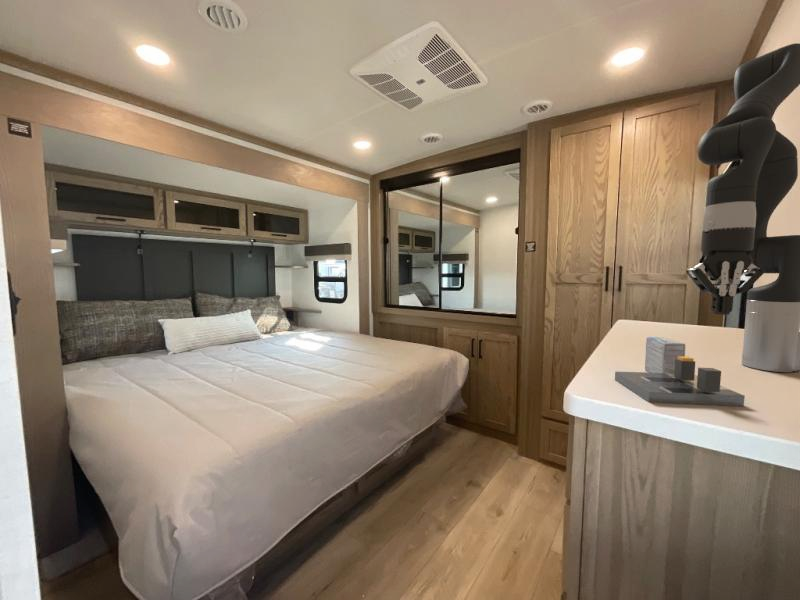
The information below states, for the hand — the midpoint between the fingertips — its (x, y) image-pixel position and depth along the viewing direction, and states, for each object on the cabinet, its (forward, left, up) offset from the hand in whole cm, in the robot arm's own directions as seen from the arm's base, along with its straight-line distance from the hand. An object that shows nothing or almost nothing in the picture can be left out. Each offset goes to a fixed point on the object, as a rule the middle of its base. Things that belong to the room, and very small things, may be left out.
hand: (720, 314), depth 67 cm
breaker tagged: (+6, 0, -14) cm, 15 cm away
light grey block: (+4, -10, -16) cm, 20 cm away
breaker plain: (+6, +6, -14) cm, 16 cm away
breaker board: (+9, +1, -16) cm, 18 cm away
